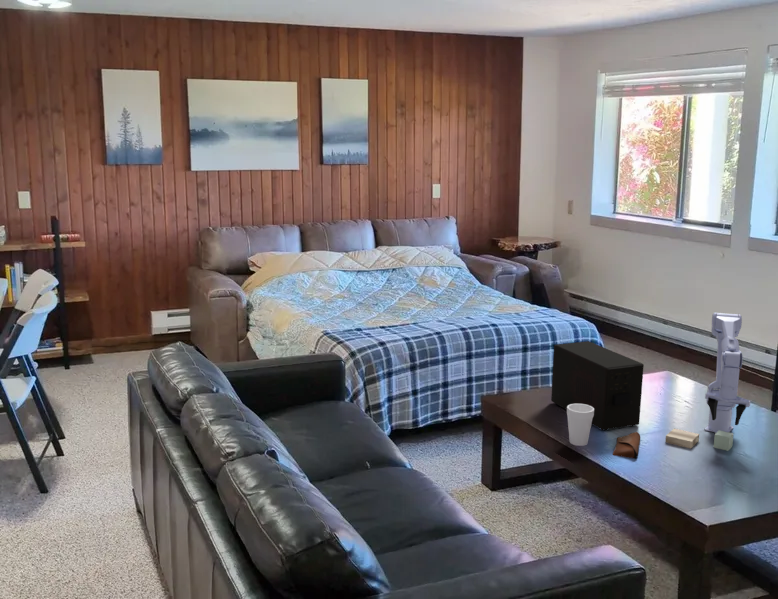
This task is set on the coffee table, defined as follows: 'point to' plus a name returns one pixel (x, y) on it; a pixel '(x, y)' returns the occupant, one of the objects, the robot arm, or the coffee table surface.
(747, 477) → the coffee table surface
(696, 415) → the coffee table surface
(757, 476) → the coffee table surface
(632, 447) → the sunglasses case
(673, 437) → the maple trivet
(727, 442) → the sage cube
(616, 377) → the black rectangular box
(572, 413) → the foam cup
